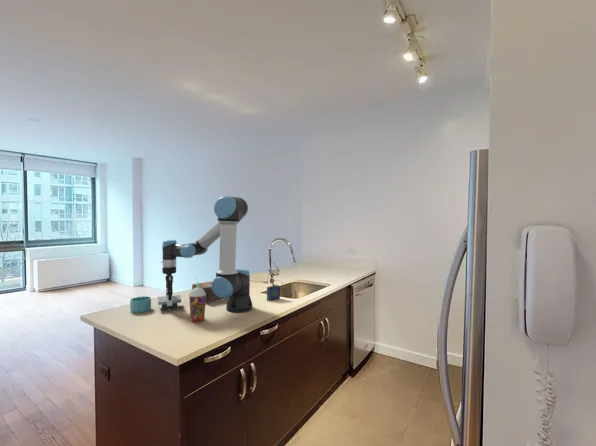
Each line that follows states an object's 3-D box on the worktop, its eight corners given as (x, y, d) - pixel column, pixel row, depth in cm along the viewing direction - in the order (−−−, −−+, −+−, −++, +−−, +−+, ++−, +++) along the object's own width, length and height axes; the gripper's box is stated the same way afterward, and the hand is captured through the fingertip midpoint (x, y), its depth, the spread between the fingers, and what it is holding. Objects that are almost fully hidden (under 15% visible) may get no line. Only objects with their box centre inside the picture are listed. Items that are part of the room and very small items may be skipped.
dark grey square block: (177, 308, 179) (177, 302, 179) (162, 310, 175) (162, 303, 175) (176, 305, 186) (176, 298, 186) (161, 306, 183) (161, 300, 182)
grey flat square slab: (181, 302, 178) (181, 300, 178) (158, 305, 173) (158, 302, 173) (179, 297, 189) (179, 295, 189) (157, 299, 183) (157, 297, 183)
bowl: (150, 311, 174) (150, 300, 173) (129, 314, 169) (129, 302, 169) (150, 306, 183) (150, 295, 183) (131, 308, 178) (130, 297, 178)
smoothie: (196, 324, 154) (196, 284, 154) (185, 321, 158) (185, 282, 158) (209, 319, 161) (209, 281, 161) (198, 316, 165) (198, 279, 165)
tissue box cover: (203, 304, 190) (204, 288, 189) (192, 299, 199) (192, 284, 199) (238, 296, 209) (238, 281, 208) (226, 292, 218) (226, 278, 218)
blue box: (267, 301, 197) (267, 284, 196) (265, 300, 199) (265, 283, 199) (280, 299, 201) (280, 283, 201) (278, 298, 204) (278, 282, 204)
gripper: (161, 263, 190) (161, 297, 190) (163, 270, 167) (162, 309, 168) (174, 262, 193) (174, 296, 194) (178, 269, 170) (177, 307, 171)
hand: (169, 302), depth 181 cm, fingers open, 13 cm apart
